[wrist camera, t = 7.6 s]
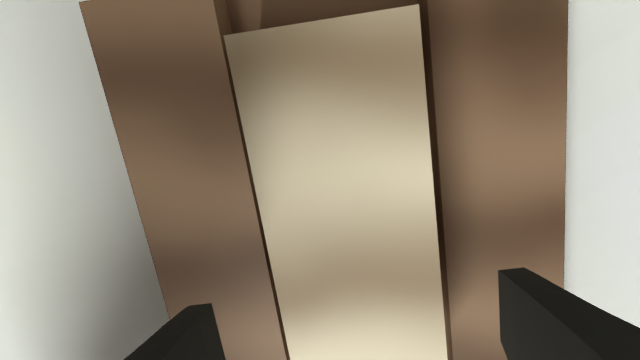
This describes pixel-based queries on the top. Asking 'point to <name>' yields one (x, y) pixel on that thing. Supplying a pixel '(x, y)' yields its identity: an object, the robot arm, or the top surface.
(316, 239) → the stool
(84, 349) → the top surface
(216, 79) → the board
